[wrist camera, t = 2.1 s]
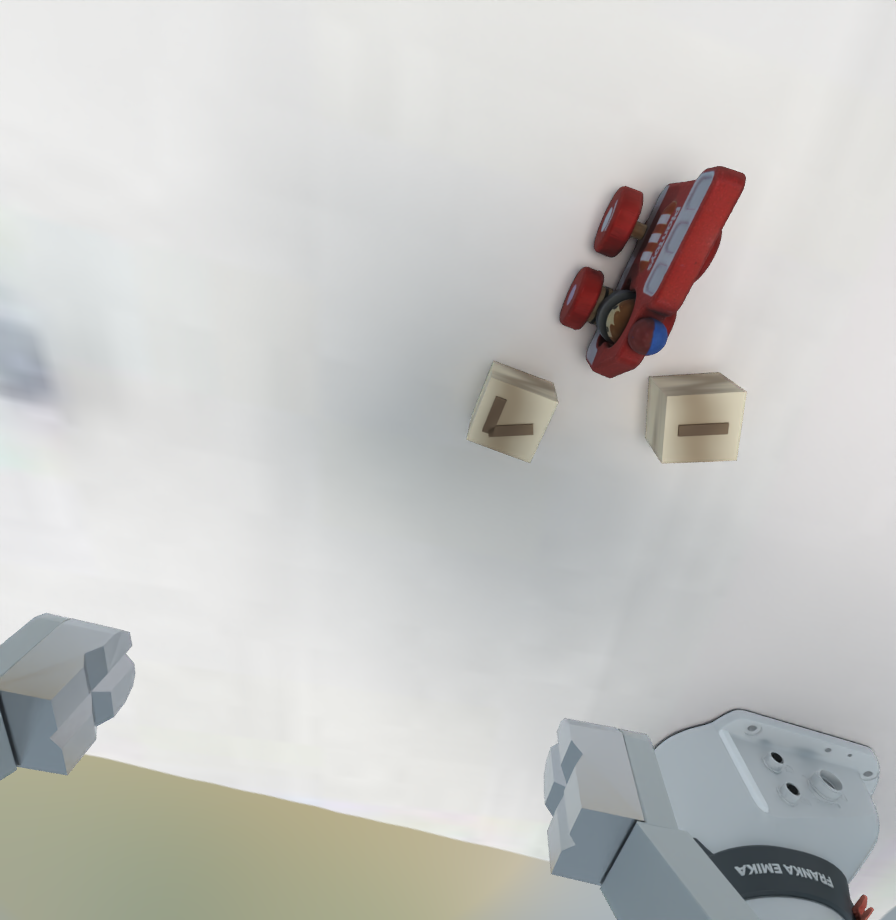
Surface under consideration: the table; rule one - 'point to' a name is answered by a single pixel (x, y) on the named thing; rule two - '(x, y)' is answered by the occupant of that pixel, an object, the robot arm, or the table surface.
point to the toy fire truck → (650, 267)
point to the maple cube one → (694, 417)
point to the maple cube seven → (512, 412)
